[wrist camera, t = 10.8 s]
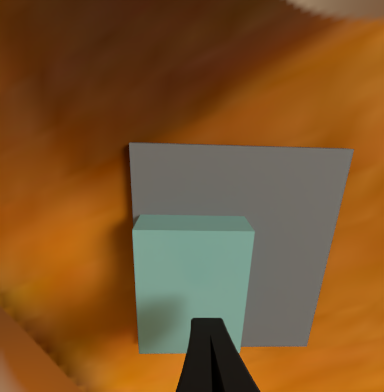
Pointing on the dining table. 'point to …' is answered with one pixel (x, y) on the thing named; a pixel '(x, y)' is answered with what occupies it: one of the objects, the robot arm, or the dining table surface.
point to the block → (189, 276)
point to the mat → (255, 218)
